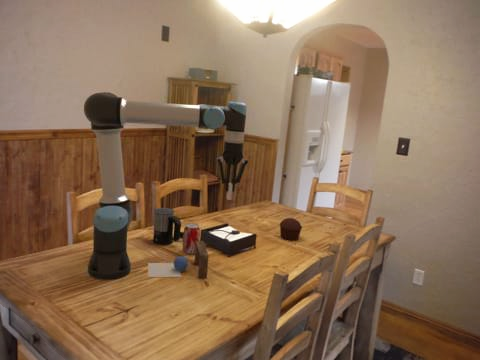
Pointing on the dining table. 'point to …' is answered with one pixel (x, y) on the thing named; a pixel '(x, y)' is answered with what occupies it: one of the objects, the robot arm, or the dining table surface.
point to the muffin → (290, 229)
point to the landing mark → (162, 270)
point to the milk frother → (166, 226)
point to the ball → (180, 263)
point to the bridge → (201, 259)
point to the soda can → (190, 237)
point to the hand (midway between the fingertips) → (228, 199)
